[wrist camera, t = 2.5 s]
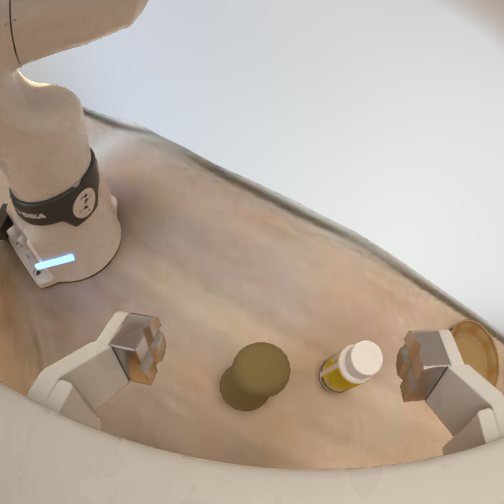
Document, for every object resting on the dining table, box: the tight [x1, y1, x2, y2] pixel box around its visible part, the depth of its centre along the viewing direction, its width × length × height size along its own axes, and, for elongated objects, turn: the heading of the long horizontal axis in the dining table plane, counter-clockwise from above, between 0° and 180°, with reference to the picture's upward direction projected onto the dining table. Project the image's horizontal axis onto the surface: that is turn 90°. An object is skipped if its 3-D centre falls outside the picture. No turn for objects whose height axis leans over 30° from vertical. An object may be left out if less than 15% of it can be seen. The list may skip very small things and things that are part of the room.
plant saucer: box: [451, 319, 499, 387], centre depth 37 cm, size 15×15×3 cm
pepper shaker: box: [220, 342, 290, 411], centre depth 28 cm, size 6×6×11 cm
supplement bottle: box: [320, 340, 383, 393], centre depth 32 cm, size 5×5×8 cm
